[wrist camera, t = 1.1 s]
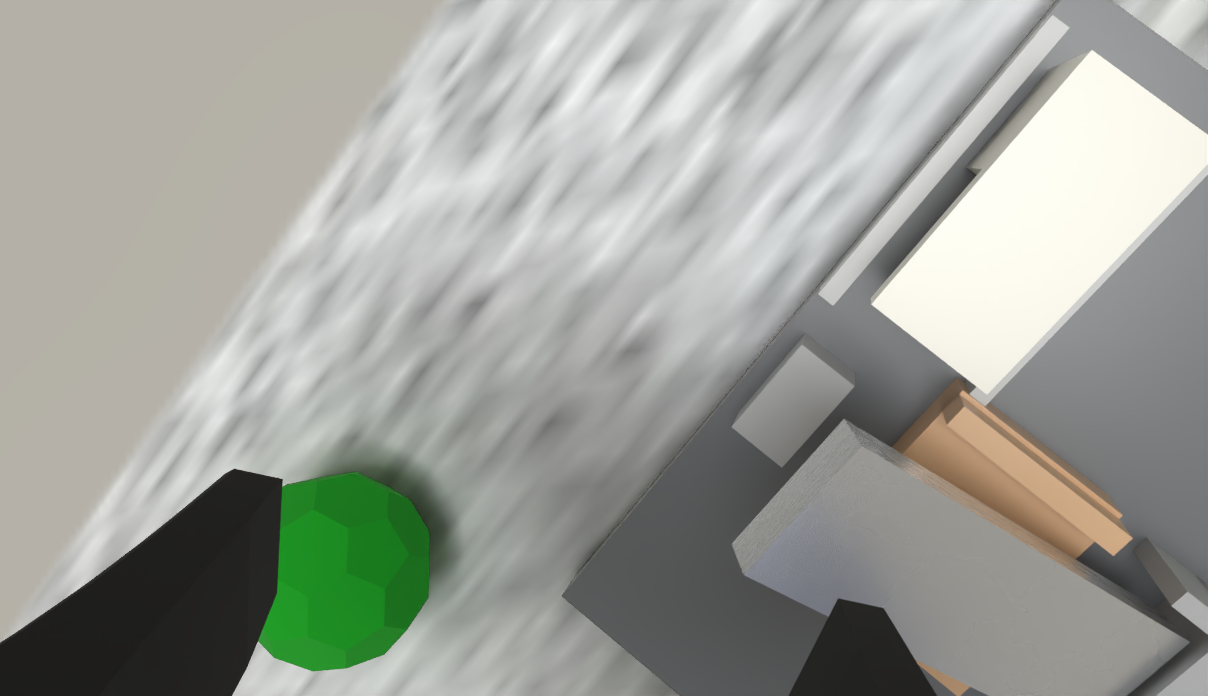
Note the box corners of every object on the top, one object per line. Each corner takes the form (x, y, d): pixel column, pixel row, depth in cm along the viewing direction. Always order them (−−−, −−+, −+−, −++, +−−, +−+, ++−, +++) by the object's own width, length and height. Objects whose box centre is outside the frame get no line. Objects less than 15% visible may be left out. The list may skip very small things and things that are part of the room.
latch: (1158, 147, 18) (1224, 146, 15) (966, 354, 20) (986, 394, 17) (1049, 68, 18) (1092, 49, 15) (869, 279, 20) (871, 304, 17)
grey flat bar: (1162, 612, 19) (1190, 642, 18) (1053, 707, 20) (1075, 738, 19) (844, 418, 15) (862, 445, 15) (731, 543, 16) (743, 574, 16)
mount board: (1522, 319, 18) (1683, 359, 15) (903, 851, 24) (911, 973, 20) (1067, -13, 19) (1113, -50, 16) (575, 575, 25) (526, 646, 21)
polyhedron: (492, 573, 26) (414, 663, 21) (361, 638, 27) (262, 735, 23) (399, 418, 25) (300, 475, 21) (272, 493, 27) (155, 561, 23)
